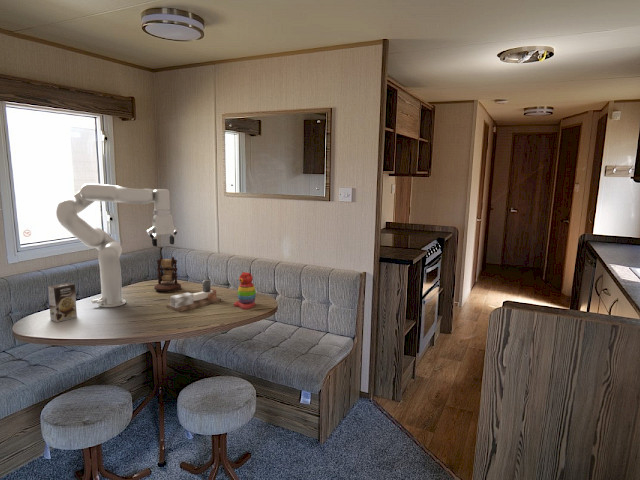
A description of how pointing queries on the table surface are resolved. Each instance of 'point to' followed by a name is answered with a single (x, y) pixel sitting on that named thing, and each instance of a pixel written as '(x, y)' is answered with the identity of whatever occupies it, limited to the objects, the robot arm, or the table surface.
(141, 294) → the table surface
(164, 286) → the wooden spool holder
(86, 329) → the table surface
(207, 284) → the white block with knob
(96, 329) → the table surface
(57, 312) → the coffee box
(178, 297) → the wooden board
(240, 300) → the stacking bear
